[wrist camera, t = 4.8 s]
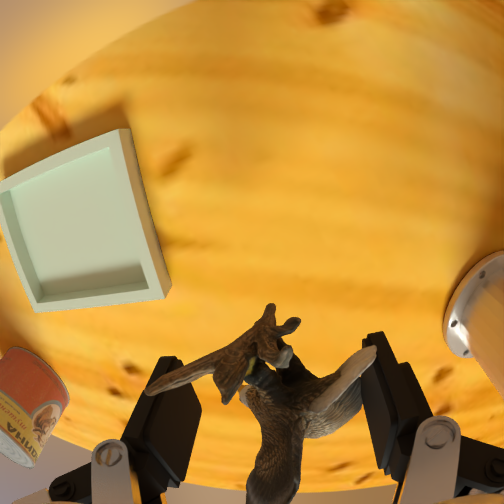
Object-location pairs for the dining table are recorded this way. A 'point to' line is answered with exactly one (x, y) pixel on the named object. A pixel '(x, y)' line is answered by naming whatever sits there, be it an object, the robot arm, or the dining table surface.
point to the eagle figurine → (278, 399)
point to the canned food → (28, 405)
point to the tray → (84, 228)
